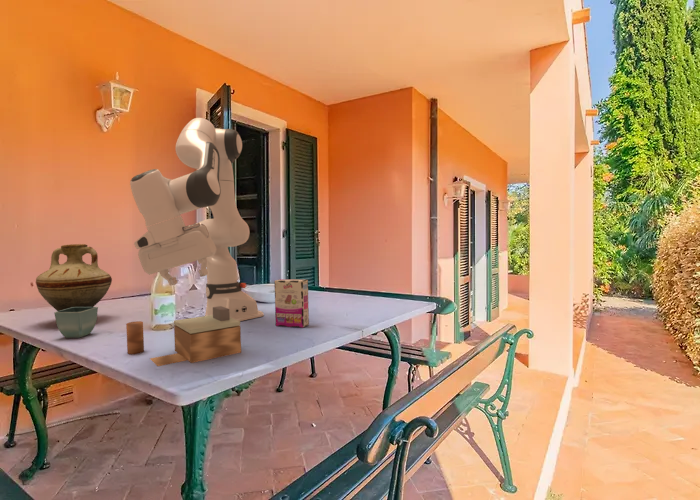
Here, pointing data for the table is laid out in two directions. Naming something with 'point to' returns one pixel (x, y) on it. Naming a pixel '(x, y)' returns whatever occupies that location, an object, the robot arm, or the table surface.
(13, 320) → the table surface
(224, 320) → the lid
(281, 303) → the candy bar box
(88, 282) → the amphora
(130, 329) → the brown wooden cylinder
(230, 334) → the crate
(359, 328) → the table surface
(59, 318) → the flower pot
